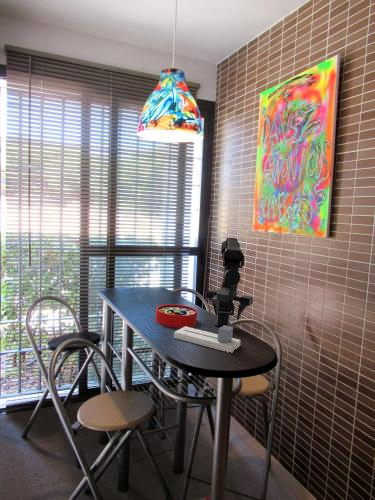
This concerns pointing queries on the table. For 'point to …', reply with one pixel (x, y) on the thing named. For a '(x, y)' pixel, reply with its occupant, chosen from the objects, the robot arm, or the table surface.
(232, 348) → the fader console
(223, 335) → the fader tab
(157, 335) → the table surface
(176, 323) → the red round tin
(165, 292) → the table surface
